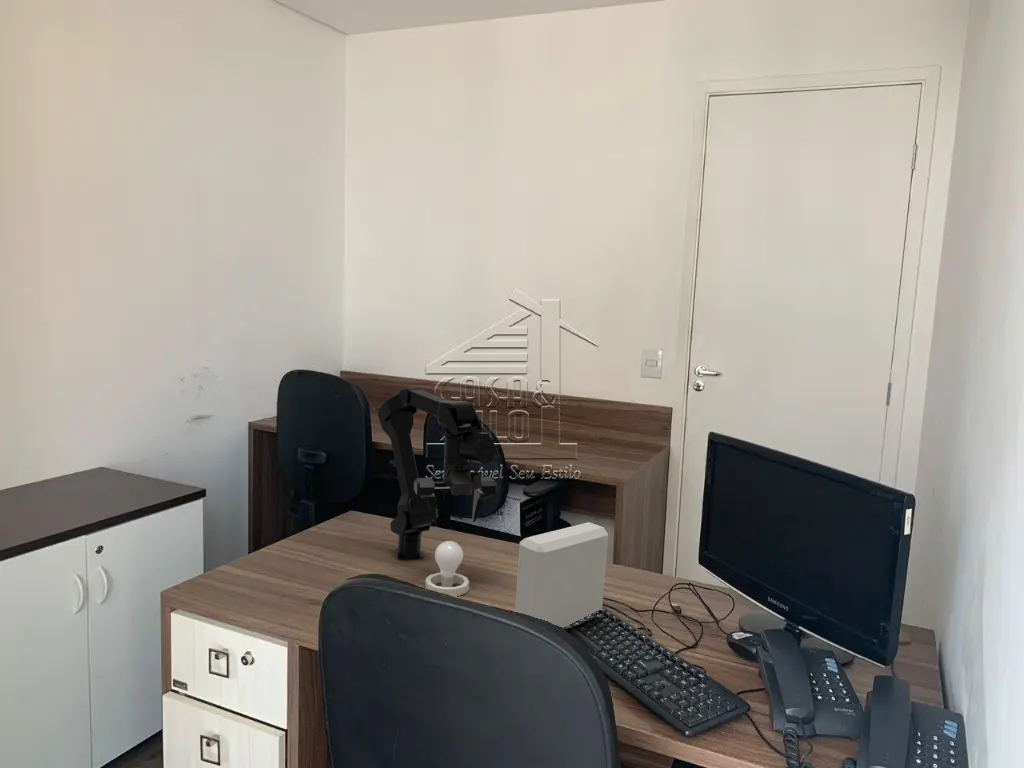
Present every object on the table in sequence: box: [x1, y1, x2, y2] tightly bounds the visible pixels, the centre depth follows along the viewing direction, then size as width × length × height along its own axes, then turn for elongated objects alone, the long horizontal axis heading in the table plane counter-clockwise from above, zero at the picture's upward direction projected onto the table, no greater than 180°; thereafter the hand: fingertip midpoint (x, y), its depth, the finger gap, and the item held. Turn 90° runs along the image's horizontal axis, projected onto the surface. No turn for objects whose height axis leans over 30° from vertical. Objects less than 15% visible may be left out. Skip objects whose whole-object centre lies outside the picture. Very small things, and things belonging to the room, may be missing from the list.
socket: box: [424, 572, 470, 596], centre depth 170 cm, size 10×10×2 cm
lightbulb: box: [434, 540, 464, 587], centre depth 169 cm, size 6×6×11 cm
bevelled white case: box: [514, 521, 609, 628], centre depth 154 cm, size 21×8×20 cm, turn 133°
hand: (454, 522), depth 175 cm, fingers open, 9 cm apart
